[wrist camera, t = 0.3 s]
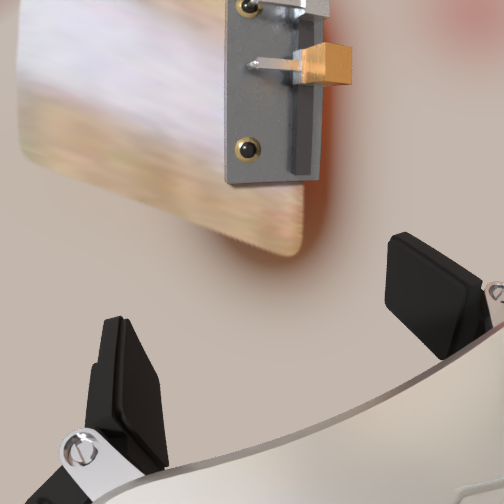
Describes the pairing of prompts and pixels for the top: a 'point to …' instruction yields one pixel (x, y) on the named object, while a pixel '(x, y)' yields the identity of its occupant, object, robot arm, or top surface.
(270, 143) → the base
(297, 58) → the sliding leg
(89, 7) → the top surface
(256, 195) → the top surface
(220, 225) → the top surface
